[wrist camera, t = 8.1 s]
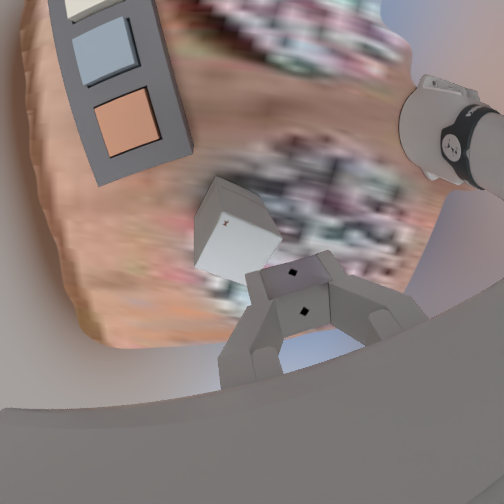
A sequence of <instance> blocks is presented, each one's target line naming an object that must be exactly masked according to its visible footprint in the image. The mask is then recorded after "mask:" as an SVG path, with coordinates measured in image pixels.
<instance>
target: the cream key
mask: <svg viewBox="0 0 504 504" xmlns="http://www.w3.org/2000/svg"><path fill="white" fill-rule="evenodd" d="M124 1H125V0H65V5H66V11H67V17H68V19H70V20H72V21H74V22H76V23H77V22H79V21H81V20H83V19H85V18H87V17H89V16H91V15H94V14H96V13H98V12H100V11H102V10H105V9H107V8H109V7H112V6H114V5H116V4H119V3H121V2H124Z"/></svg>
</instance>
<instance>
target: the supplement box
mask: <svg viewBox="0 0 504 504" xmlns="http://www.w3.org/2000/svg"><path fill="white" fill-rule="evenodd" d="M282 239H283V238H282V236H281V234H280V232H279V230H278V228H277V227H276V225H275V223H274V221H273V219H272V218H271V216H270V214H269V212H268V210H267V209H266V207H265V205H264V203H263V201H262V199H261V198H260V196H258V195H256V194H254V193H253V192H250V191H248V190H246V189H244V188H242V187H240V186H238V185H236V184H233V183H231V182H229V181H227V180H225V179H222V178H220V177H218V176H216V177H215V178H214V180H213V182H212V184H211V186H210V188H209V190H208V192H207V194H206V196H205V198H204V199H203V201H202V203H201V205H200V207H199V209H198V211H197V213H196V215H195V217H194V267H195V268H197V269H200V270H203V271H206V272H209V273H211V274H214V275H217V276H220V277H223V278H226V279H228V280H231V281H234V282H237V283H240V284H243V285H246V286H247V284H246V280H245V274H246V273H250V272H253V271H257V270H261V269H263V267H264V266H265V264H266V263H267V261H268V260H269V258H270V257H271V255H272V254H273V252H274V251H275V250H276V248H277V247H278V245H279V244H280V242H281V241H282Z"/></svg>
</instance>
